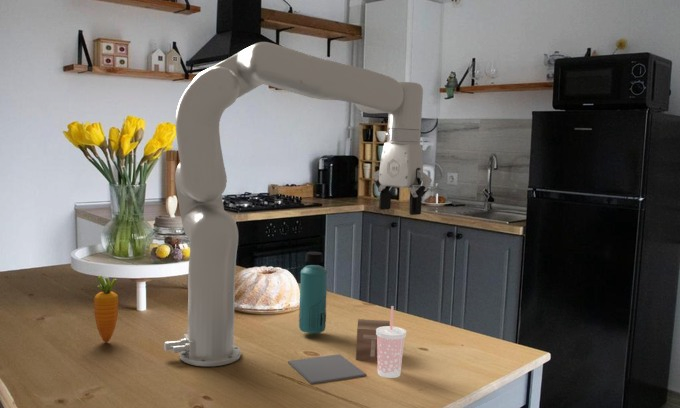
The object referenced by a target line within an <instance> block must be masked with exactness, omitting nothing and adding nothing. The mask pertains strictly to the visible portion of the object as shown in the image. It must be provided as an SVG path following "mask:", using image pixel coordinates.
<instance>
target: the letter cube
mask: <svg viewBox="0 0 680 408" xmlns="http://www.w3.org/2000/svg"><path fill="white" fill-rule="evenodd" d="M390 321H391V320H382V319H380V320H378V319H364V318H363V319H361V318H358V319H357V328H356V330H357V331H356V346H355V347H356V349H355V350H356V351H355V353H356V354H355V361H362V362H363V361H365V362H378V361H377V335H376V329H377V328H379V327H383V326H390Z"/></svg>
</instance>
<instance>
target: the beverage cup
mask: <svg viewBox="0 0 680 408" xmlns="http://www.w3.org/2000/svg"><path fill="white" fill-rule="evenodd" d="M394 307H395V306H393V305H391V306H390V320H389V321H390V326H383V327H379V328H377V329H376V335H377V361H376V362H377V375H379V376H380V377H382V378H385V379H386V378H387V379H388V378H390V379H393V378H398V377H400V376H401V371H402V365H403V364H402V363H403V353H404V345H405V338H406V336H407V330H406V329H405V328H402V327H398V326H394V309H395V308H394Z"/></svg>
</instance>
